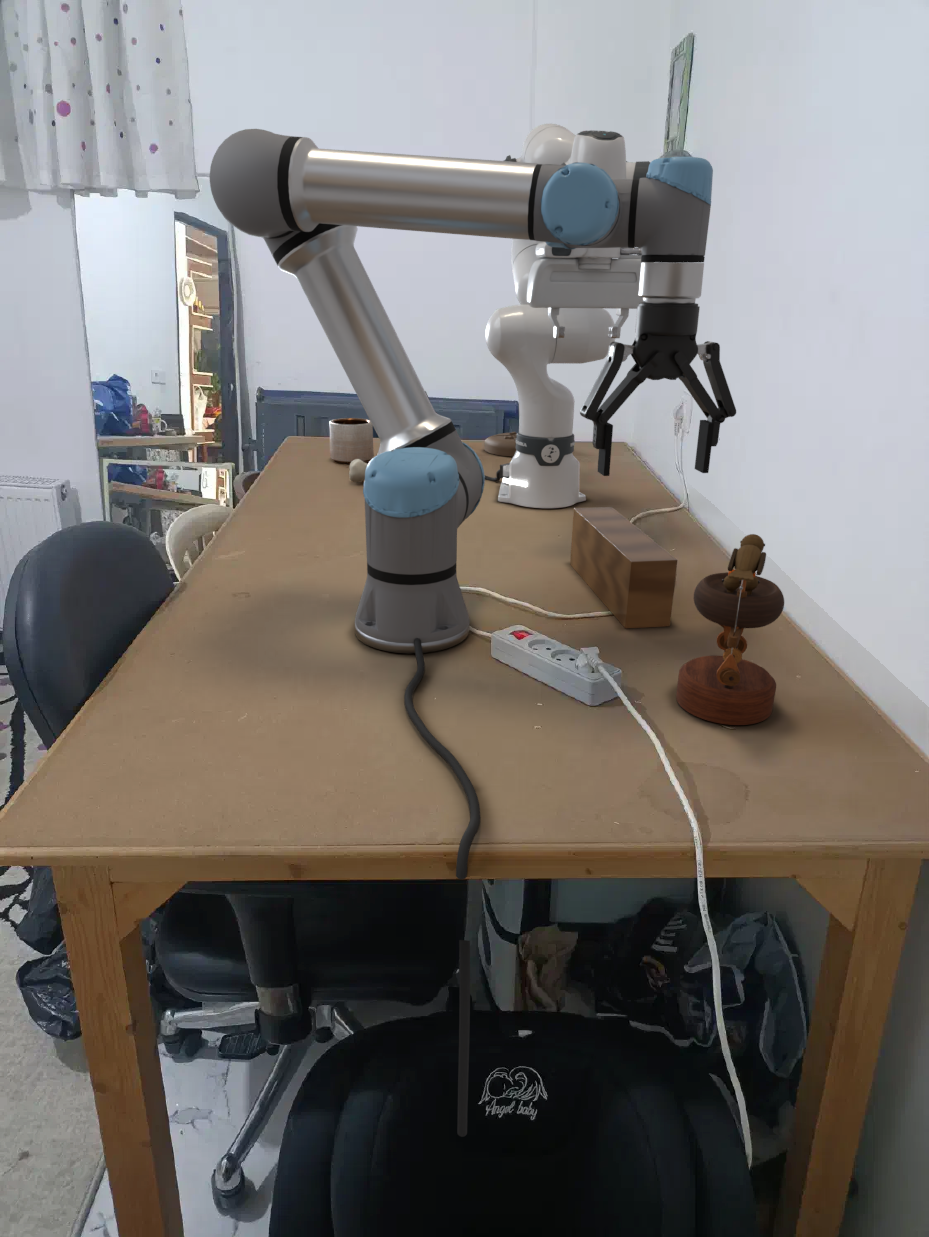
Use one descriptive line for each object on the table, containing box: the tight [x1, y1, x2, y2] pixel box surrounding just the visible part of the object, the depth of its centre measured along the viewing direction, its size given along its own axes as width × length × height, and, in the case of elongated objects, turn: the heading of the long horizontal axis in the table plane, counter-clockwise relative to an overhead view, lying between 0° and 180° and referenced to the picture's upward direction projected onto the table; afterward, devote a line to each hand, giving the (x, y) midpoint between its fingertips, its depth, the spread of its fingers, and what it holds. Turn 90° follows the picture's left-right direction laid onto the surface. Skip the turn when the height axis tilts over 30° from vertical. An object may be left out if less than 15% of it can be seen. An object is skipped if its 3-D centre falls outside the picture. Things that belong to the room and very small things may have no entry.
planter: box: [328, 417, 375, 464], centre depth 212 cm, size 11×11×10 cm
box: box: [569, 506, 678, 629], centre depth 126 cm, size 28×6×10 cm, turn 9°
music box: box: [675, 533, 785, 726], centre depth 92 cm, size 15×11×20 cm
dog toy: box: [348, 459, 368, 483], centre depth 192 cm, size 20×6×5 cm, turn 99°
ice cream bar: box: [483, 431, 518, 457], centre depth 222 cm, size 21×28×4 cm
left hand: (652, 472), depth 112 cm, fingers open, 13 cm apart
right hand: (586, 338), depth 139 cm, fingers open, 8 cm apart
